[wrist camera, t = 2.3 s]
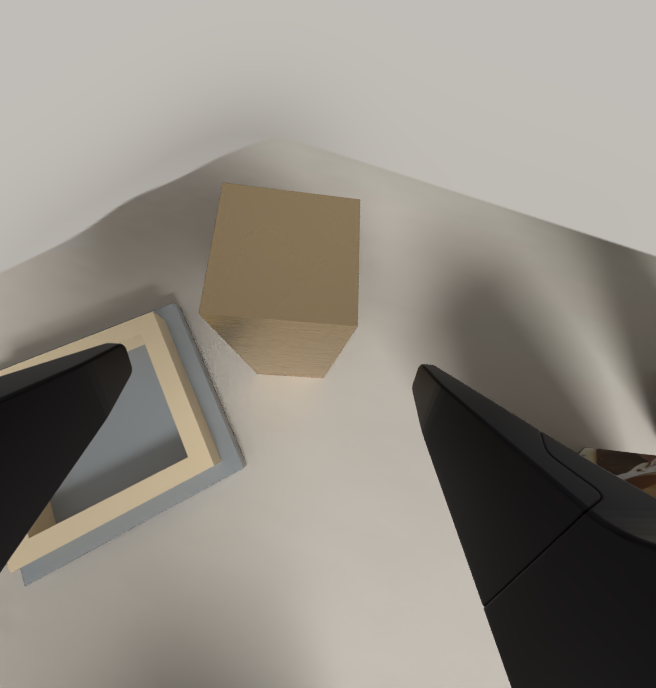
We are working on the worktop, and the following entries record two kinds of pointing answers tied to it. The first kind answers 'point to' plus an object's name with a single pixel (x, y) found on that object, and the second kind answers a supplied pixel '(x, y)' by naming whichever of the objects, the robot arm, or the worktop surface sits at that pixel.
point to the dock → (135, 445)
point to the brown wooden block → (283, 278)
